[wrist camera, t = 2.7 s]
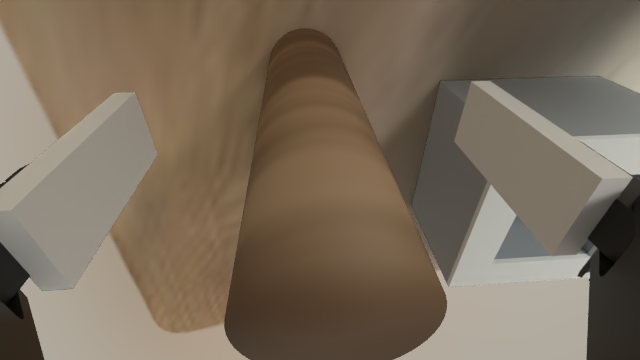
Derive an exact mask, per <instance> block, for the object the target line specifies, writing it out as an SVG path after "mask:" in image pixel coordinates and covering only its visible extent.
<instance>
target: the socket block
mask: <svg viewBox="0 0 640 360" xmlns="http://www.w3.org/2000/svg"><path fill="white" fill-rule="evenodd" d="M471 81H491V82H492V83H494V84H495V85H497V86H498V87H500V88H501V89H503V90H504V91H506V92H507V93H509V94H510V95H512V96H513V97H514V98H516V99H517V100H519V101H520V102H522V103H523V104H525V105H526V106H528V107H529V108H531V109H532V110H534V111H535V112H537V113H538V114H540V115H541V116H543V117H544V118H546V119H547V120H549V121H550V122H552V123H553V124H555V125H556V126H558V127H559V128H561V129H562V130H564V131H565V132H567V133H568V134H570V135H571V136H572V137H574V138H575V139H577V140H578V141H581V142H583V143H584V144H586V145H587V146H589V147H590V148H592V149H593V150H595V151H596V153H599V154H601V155H602V156H604V157H605V158H607V160H610V161H611V162H613V163H614V164H616V165H617V166H619V167H620V168H622V169H623V170H625V171H626V172H628V173H629V174H631V175H632V176H634V177H635V178H637V179H638V180H639V181H640V93H638V92H635V91H633V90H631V89H628V88H626V87H624V86H621V85H619V84H617V83H614V82H612V81H610V80H608V79H605V78H603V77H601V76H582V77H549V78H516V79H483V80H450V81H440V85H439V89H438V94H437V98H436V102H435V107H434V111H433V115H432V120H431V124H430V128H429V133H428V137H427V141H426V146H425V150H424V155H423V159H422V163H421V168H420V172H419V176H418V181H417V185H416V189H415V194H414V198H413V202H412V208H413V211H414V213H415V215H416V217H417V219H418V221H419V224H420V226H421V228H422V230H423V232H424V235H425V237H426V239H427V241H428V243H429V245H430V248H431V250H432V252H433V254H434V256H435V258H436V261H437V263H438V265H439V267H440V269H441V272H442V274H443V276H444V278H445V280H446V282H447V285H448V287H460V286H475V285H487V284H488V285H489V284H501V283H502V284H503V283H517V282H532V281H546V280H561V279H574V278H581V277H579V276H577V275H578V273H579V271H580V270H581V269H582V267H583V266H584V265H585V264H586V262H587V261H588V260H589V258H590V257H591V256H592V255H593V253H594V252H595V251H596V249H597V247H596V246H595V245H594V244H593V243H592V242H591V241H590V240H589V239H588V240H587V241H586V243H585V244H584V245H583V247H582V248H581V249H580V251H579V252H578V253H577V255H563V256H551V255H550V254H549V253H548V252H547V250H546V249H545V248H544V247H543V246H542V245H541V243H540V242H539V241H538V240H537V239H536V237H535V236H534V235H533V234H532V233H531V232H530V230H529V229H528V228H527V227H526V226H525V224H524V223H523V222H522V221H521V220H520V219H519V217H518V216H517V215H516V214H515V213H514V211H513V210H512V209H511V208H510V207H509V206H508V204H507V203H506V202H505V201H504V200H503V198H502V197H501V196H500V195H499V194H498V193H497V191H496V190H495V189H494V188H493V187H492V185H491V184H490V183H489V182H488V181H487V180H486V178H485V177H484V176H483V175H482V174H481V172H480V171H479V170H478V169H477V168H476V167H475V165H474V164H473V163H472V162H471V161H470V159H469V158H468V157H467V156H466V155H465V154H464V152H463V151H462V150H461V149H460V148H459V146H458V145H457V144H456V143H455V142H454V140H455V137H456V133H457V130H458V126H459V123H460V119H461V116H462V112H463V109H464V105H465V102H466V98H467V95H468V91H469V88H470V84H471ZM582 278H590V272H588V273H585V275H584V276H583V277H582Z"/></svg>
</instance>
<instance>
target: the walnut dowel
mask: <svg viewBox="0 0 640 360" xmlns="http://www.w3.org/2000/svg"><path fill="white" fill-rule="evenodd" d="M446 309H447V300H446V295H445V292H444V290H443V288H442V286H441V283H440V281H439V279H438V277H437V274H436V272H435V270H434V267H433V265H432V263H431V261H430V258H429V256H428V254H427V251H426V249H425V247H424V245H423V242H422V240H421V238H420V236H419V233H418V231H417V229H416V227H415V224H414V222H413V220H412V217H411V215H410V213H409V211H408V208H407V206H406V204H405V202H404V199H403V197H402V195H401V193H400V190H399V188H398V186H397V183H396V181H395V179H394V177H393V174H392V172H391V170H390V168H389V165H388V163H387V161H386V159H385V156H384V154H383V152H382V149H381V147H380V145H379V143H378V140H377V138H376V136H375V134H374V131H373V129H372V127H371V125H370V122H369V120H368V118H367V115H366V113H365V111H364V109H363V106H362V104H361V102H360V100H359V97H358V95H357V93H356V91H355V88H354V86H353V84H352V81H351V79H350V77H349V75H348V72H347V70H346V68H345V66H344V63H343V61H342V59H341V56H340V54H339V52H338V50H337V48H336V46H335V44H334V43H333V42H332V41H331V39H329V38H328V37H327V36H326V35H324V34H323V33H321V32H319V31H316V30H313V29H298V30H294V31H291V32H289V33H287V34H286V35H284V36H283V37H282V38H281V39H280V40H279V41H278V42H277V43H276V45H275V46H274V48H273V50H272V53H271V57H270V62H269V68H268V73H267V79H266V85H265V90H264V96H263V102H262V108H261V113H260V119H259V125H258V131H257V136H256V142H255V148H254V154H253V159H252V165H251V171H250V176H249V182H248V188H247V194H246V199H245V205H244V211H243V217H242V222H241V228H240V234H239V240H238V245H237V251H236V257H235V262H234V268H233V274H232V280H231V285H230V291H229V297H228V303H227V308H226V314H225V324H224V326H225V332H226V335H227V337H228V339H229V341H230V343H231V344H232V345H233V347H234V348H235V349H236V350H237V351H239V352H240V353H241V354H242V355H244V356H246V357H247V358H248V359H250V360H393V359H395V358H398V357H400V356H402V355H404V354H406V353H408V352H410V351H412V350H413V349H415V348H416V347H418V346H419V345H421V344H422V343H423V342H425V341H426V340H427V339H428V338H429V337H430V336H431V335H432V334H433V333H435V331H436V330H437V329H438V327H439V326H440V325H441V323H442V321H443V319H444V317H445V313H446Z"/></svg>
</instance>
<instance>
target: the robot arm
mask: <svg viewBox="0 0 640 360" xmlns="http://www.w3.org/2000/svg"><path fill="white" fill-rule="evenodd" d="M454 142H455V143H456V144H457V145H458V146H459V148H460V149H461V150H462V151H463V152H464V154H465V155H466V156H467V157H468V158H469V159H470V161H471V162H472V163H473V164H474V165H475V167H476V168H477V169H478V170H479V171H480V172H481V174H482V175H483V176H484V177H485V178H486V180H487V181H488V182H489V183H490V184H491V185H492V187H493V188H494V189H495V190H496V191H497V193H498V194H499V195H500V196H501V197H502V198H503V200H504V201H505V202H506V203H507V204H508V206H509V207H510V208H511V209H512V210H513V211H514V213H515V214H516V215H517V216H518V217H519V219H520V220H521V221H522V222H523V223H524V224H525V226H526V227H527V228H528V229H529V230H530V232H531V233H532V234H533V235H534V236H535V237H536V239H537V240H538V241H539V242H540V243H541V245H542V246H543V247H544V248H545V249H546V250H547V252H548V253H549V254H550V255H551V256H563V255H577V253H578V252H579V251H580V249H581V248H582V247H583V245H584V244H585V243H586V241H587V240H588V239H589V240H590V241H591V242H592V243H593V244H594V245H595V246H596V247H597V249H596V251H595V252H594V253H593V255H592V256H591V257H590V258H589V260H588V261H587V262H586V264H585V265H584V266H583V267H582V269H581V270H580V271H579V273H578V275H577V276H579V277H581V278H582V277H583V276H584V275H585V273H588V272H590V279H589V281H590V287H589V313H588V338H587V360H640V181H639V180H638V179H637V178H635V177H634V176H632V175H631V174H629V173H628V172H626V171H625V170H623V169H622V168H620V167H619V166H617V165H616V164H614V163H613V162H611V161H610V160H607V158H605V157H604V156H602V155H601V154H599V153H596V151H595V150H593V149H592V148H590V147H589V146H587V145H586V144H584V143H583V142H581V141H578V140H577V139H575V138H574V137H572V136H571V135H570V134H568V133H567V132H565V131H564V130H562V129H561V128H559V127H558V126H556V125H555V124H553V123H552V122H550V121H549V120H547V119H546V118H544V117H543V116H541V115H540V114H538V113H537V112H535V111H534V110H532V109H531V108H529V107H528V106H526V105H525V104H523V103H522V102H520V101H519V100H517V99H516V98H514V97H513V96H512V95H510V94H509V93H507V92H506V91H504V90H503V89H501V88H500V87H498V86H497V85H495V84H494V83H492V82H491V81H471V84H470V88H469V91H468V95H467V98H466V102H465V105H464V109H463V112H462V116H461V119H460V123H459V126H458V130H457V133H456V137H455V140H454ZM157 155H158V154H157V151H156V148H155V146H154V143H153V140H152V138H151V135H150V132H149V129H148V127H147V124H146V121H145V118H144V116H143V113H142V110H141V107H140V105H139V102H138V99H137V97H136V94H135V92H126V93H113V94H112V95H111V96H110V97H108V98H107V99H106V100H105V101H104V102H102V103H101V104H100V105H99V106H98V107H97V108H95V109H94V110H93V111H92V112H91V113H89V114H88V115H87V116H86V117H85V118H83V119H82V120H81V121H80V122H79V123H77V124H76V125H75V126H74V127H73V128H72V129H70V130H69V131H68V132H67V133H66V134H64V135H63V136H62V137H61V138H60V139H58V140H57V141H56V142H55V143H54V144H53V145H51V146H50V147H49V148H48V149H47V150H45V151H44V152H43V153H42V154H41V155H39V156H38V157H37V158H36V159H35V160H33V161H32V162H31V163H30V164H28V165H26V166H24V167H22V168H20V169H19V170H17V171H16V172H15V173H14V174H12V175H11V176H10V177H9V178H8V179H6V180H5V181H6V182H5V183H2V184H0V360H44V357H43V353H42V350H41V346H40V342H39V339H38V336H37V331H36V328H35V324H34V320H33V317H32V313H31V310H30V306H29V302H28V299H27V297H26V296H25V295H24V294H23V292H22V291H21V290H20V288H21V287H22V285H23V284H24V283H25V282H26V280H27V279H28V278H29V277H30V278H31V279H32V280H33V281H34V283H35V284H36V285H37V286H38V287H39V288H40V289H41V290H42V291H51V290H65V289H73V288H74V286H75V285H76V283H77V282H78V280H79V278H80V277H81V275H82V274H83V272H84V271H85V269H86V267H87V266H88V264H89V263H90V261H91V260H92V258H93V256H94V255H95V253H96V252H97V250H98V248H99V247H100V245H101V244H102V242H103V240H104V239H105V237H106V236H107V234H108V233H109V231H110V229H111V228H112V226H113V225H114V223H115V221H116V220H117V218H118V217H119V215H120V213H121V212H122V210H123V209H124V207H125V205H126V204H127V202H128V201H129V199H130V198H131V196H132V194H133V193H134V191H135V190H136V188H137V186H138V185H139V183H140V182H141V180H142V178H143V177H144V175H145V174H146V172H147V171H148V169H149V167H150V166H151V164H152V163H153V161H154V159H155V158H156V156H157Z"/></svg>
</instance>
